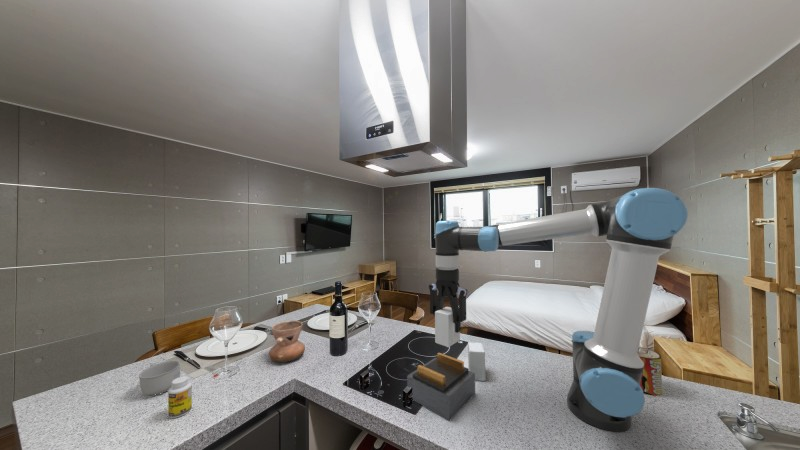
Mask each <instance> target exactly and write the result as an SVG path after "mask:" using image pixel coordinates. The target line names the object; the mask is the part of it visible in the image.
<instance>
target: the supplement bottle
mask: <svg viewBox="0 0 800 450" xmlns="http://www.w3.org/2000/svg"><path fill="white" fill-rule="evenodd" d="M192 387H193V384H192V382H190V381H189V376H184V375H183V376H180V377H179V378H176V379H175V380H173V381H172V387H171V388H170V389H169V390H168V391H167V397H168V398H167V399H168V401H167V403H168V404H167V406H168V407H167V409H168V410H167V411H168V412H167V413H168V418H170V419H177V417H178V418H180V417H183V416H185V415H187V414H188V413H189V412H191V410H192V407H193V406H192V404H193V403H192V402H193V400H192V399H193V398H192V397H193V395H192V393H193V392H192V391H193V390H192Z"/></svg>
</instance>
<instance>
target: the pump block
mask: <svg viewBox="0 0 800 450" xmlns="http://www.w3.org/2000/svg"><path fill="white" fill-rule="evenodd" d="M453 321H454V318H453V313H452V309H451V306H445V307H443V309H440V310H438V311H435V316H434V342H435V343H436V344H438V345H441V346H444V347H447V348H450V347H451V346H453V345H454V344H456V343H458V342H459V341H461V331H460V332H458V334H459V341H457V342H455V343H452V322H453Z"/></svg>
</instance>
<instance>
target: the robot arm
mask: <svg viewBox="0 0 800 450" xmlns="http://www.w3.org/2000/svg"><path fill="white" fill-rule="evenodd" d="M688 213H689V212H688V208H687V206H686V203H684V201H683V199H681V198H680V197H679V196H678V195H677V194H676V193H674V192H671V191H669V190H667V189H663V188H659V187H658V188H657V187H645V188H644V187H642V188H636V189H634V190H630V191H628V192H627V193H625V194H621V195H619V196H617V197H614V198H611V199H609V200H605V201H602V202H598V203H593V204H588V206H587V207H586V208H585V209H584V208H583V209H580V210H579V209H578V210H572V211H566V212H561V213H554V214H548V215H543V216H539V217H532V218H527V219H519V220H514V221H510V222H503V223H499V224H493V225H486V226H460V225H459V224H460V223H459V221H457V220H438V221H437V222H436V223H435V234H434V240H435V242H434V243H435V244H434V245H435V267H436V268H435V280H436V281H435V283H432V284H429V285H428V288H429V289H428V290H429V295H430V296H429V313H430V314H431V315H433V316H434V317H435V311H438V310H440V309H443V308H444V305H445V300H446V298H447V299H448V301H449V303H450V308H451V309H452V313H453V318H454V321H453V322H452V343H455V342H456V343H458V342H460V340H459V334H458V332H460V333H461V329H462V328H461V327H462V326H461V323H462V322H465V321H466V320H467V296H468V292H469V291H468V289H466V288H465V289H464V288H462V287H461V286H460V283H459V282H460V281H459V280H460V270H459V266H460V263H459V262H460V261H459V259H460V258H459V257H460V255H459V254H460V253H459V251H472V252H473V251H474V252H476V251H478V252H485V253H486V252H496V251H497V250H498V249H499V247H502V246H510V245H516V244H524V243H532V242H539V241H547V240H555V239H561V238H570V237H579V236H584V235H585V236H587V235H592V236H594V237H603V236H605V237H606V238H605V241H606V242H607V244H608V245H609V246H610V247H611V252H610V256H609V262H608V266H607V270H606V275H605V281H604V286H603V289H602V290H603V291H602V295H601V299H600V302H599V303H600V305H599V308H598V313H597V318H596V322H595V323H596V324H595V329H594V331H590V330H589V331H588V330H577V331H574V332H573V333H572V336H571V337H572V338H571V344H572V345H571V346H572V373H573V374H572V375H573V376H572V377H573V379H572V382H571V384H570V387H569V390H568V392H567V396H566V403H567V407H568V409H569V410H570V412H571V413H572V415H573V414H574V415H575V416H576V417H577V418H578V419H579V420H581V421H582V422H584V423H587V424H588V425H590V426H593V427H594V428H598V429H601V430H605V431H609V432H626V431H629V429H630V428H631V427H632V417H634V416H636V415H637V414H639V413H640V412H641V411H642V410H643V408H644V406H645V402H646V401H645V400H646V399H645V394H644V393H643V390H642V388H641V386H640V381H641V377H642V372H643V367H644V363H643V361H642V360H641V359H640V357H639V356H638V354H637V353H638V348H639V347H640V344H641V339H642V335H643V329H644V325H645V321H646V318H647V311H648V308H649V303H650V299H651V295H652V291H653V284H654V281H655V277H656V272H657V267H658V263H659V259H660V257H661V256H662V255H665V254H666V253H668V252H670V251H671V250H672V245H673V240H674V236H675V235H676V234H678V233H679V232H681V230H682V229H683V228H684V227H685V225H686V224H687V221H688V215H689V214H688ZM457 341H458V342H457ZM456 343H455V344H456Z"/></svg>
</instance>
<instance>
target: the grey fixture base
mask: <svg viewBox="0 0 800 450" xmlns="http://www.w3.org/2000/svg"><path fill="white" fill-rule="evenodd" d="M406 382H407V383H406V384H407V386H406V387H411V388H413V391H412V393H413V400H414V402H415V403H416V404H419V405H420V404H421V405H420V406H422V407H424V408H426V409H427V410H429V411H431V412H433V413H435V414H437V416H440V417H442V418H443V419H445V420H447V421H448V422H450V421H452V419H453V418H454V417H455V416H456V415H457V413H459V412H460V411H461V410H462V408H464V407H465V405H467V403H468V402H469V401H470V400H471V399H472V398H473V397H474V396H475V395H476V380H475V373H473V372H471V371H469V367H466V366H465V361H463V360H460V359H458V358H455V357H452V356H449V355H446V354H445V353H441V352H438V353H437V354H436V357H434V358H433V359H431V360H429V361H428V362H427V363H425V364H423V365H421V364H419V365H417V369H415V370H414V371H412V372H411V373H410V374H408V375H407V376H406ZM413 400H412V401H413Z"/></svg>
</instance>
